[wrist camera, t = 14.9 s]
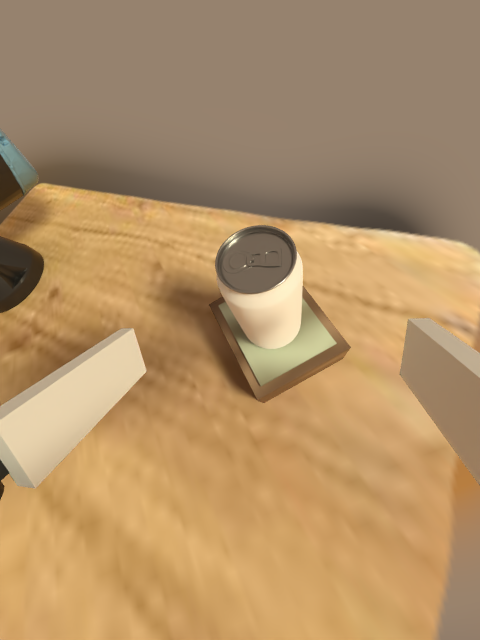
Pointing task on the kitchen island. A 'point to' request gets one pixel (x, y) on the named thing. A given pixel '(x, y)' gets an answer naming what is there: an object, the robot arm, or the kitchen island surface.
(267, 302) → the can
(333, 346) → the plinth
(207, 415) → the kitchen island surface
